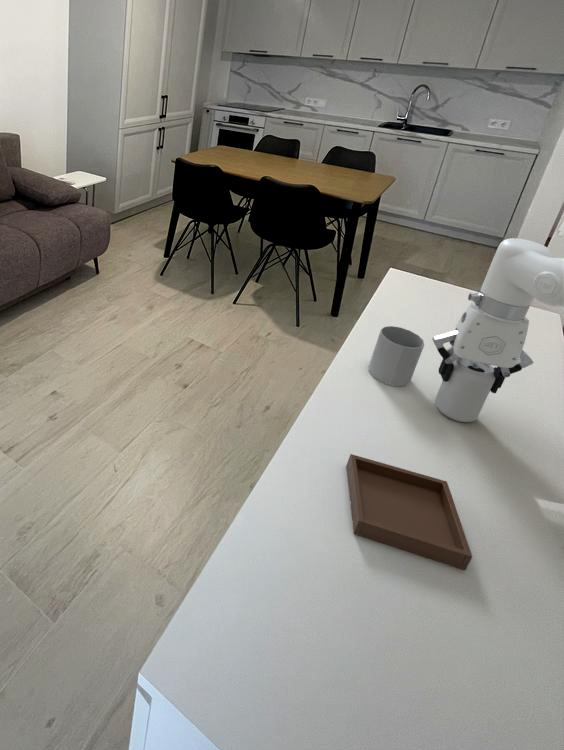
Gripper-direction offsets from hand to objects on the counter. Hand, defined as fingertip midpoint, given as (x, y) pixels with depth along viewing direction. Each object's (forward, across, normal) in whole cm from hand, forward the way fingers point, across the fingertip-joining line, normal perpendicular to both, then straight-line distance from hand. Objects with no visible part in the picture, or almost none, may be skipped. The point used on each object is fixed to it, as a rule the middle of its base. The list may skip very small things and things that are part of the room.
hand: (466, 382), depth 97 cm
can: (+8, 0, 0) cm, 8 cm away
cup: (+8, -11, +8) cm, 16 cm away
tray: (+7, -15, -31) cm, 35 cm away
